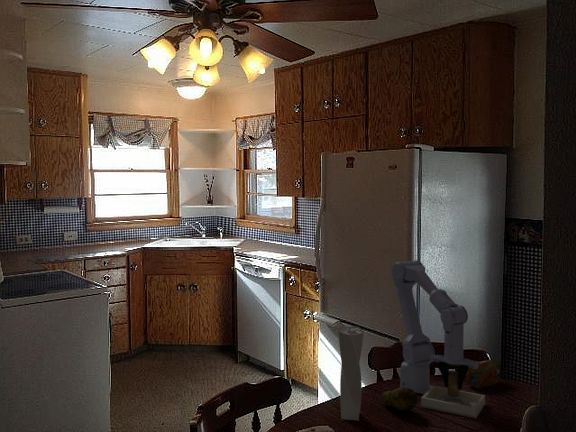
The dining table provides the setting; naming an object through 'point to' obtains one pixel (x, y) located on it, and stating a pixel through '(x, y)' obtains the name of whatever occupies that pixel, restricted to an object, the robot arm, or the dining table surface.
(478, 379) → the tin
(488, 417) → the dining table surface
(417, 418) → the dining table surface
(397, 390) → the potato
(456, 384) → the peg
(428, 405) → the box
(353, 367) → the tall white vase
